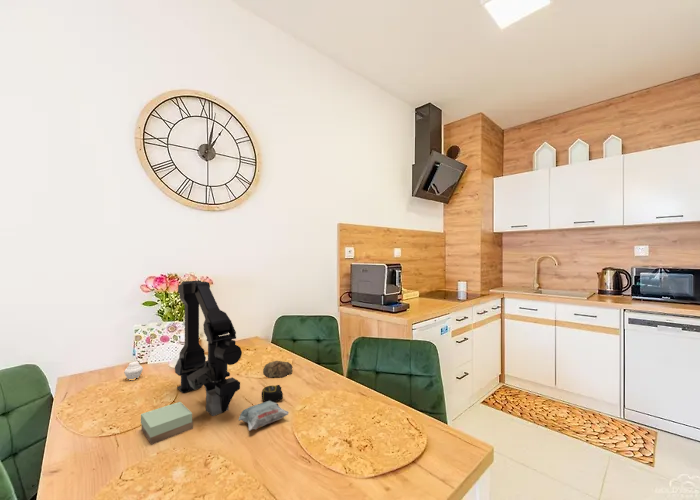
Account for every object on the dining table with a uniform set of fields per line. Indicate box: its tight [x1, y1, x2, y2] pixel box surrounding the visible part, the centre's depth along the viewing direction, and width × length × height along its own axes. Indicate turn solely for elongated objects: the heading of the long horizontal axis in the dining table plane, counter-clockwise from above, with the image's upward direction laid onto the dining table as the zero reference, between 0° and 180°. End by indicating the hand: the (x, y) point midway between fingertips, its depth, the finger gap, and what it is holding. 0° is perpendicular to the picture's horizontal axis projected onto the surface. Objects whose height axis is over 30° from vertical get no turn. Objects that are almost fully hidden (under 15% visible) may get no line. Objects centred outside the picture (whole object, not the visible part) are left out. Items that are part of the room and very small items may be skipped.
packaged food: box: [238, 401, 290, 432], centre depth 87 cm, size 9×12×5 cm
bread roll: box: [262, 360, 293, 379], centre depth 126 cm, size 13×12×5 cm
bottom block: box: [140, 420, 194, 445], centre depth 84 cm, size 10×10×2 cm
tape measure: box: [261, 384, 284, 403], centre depth 101 cm, size 7×7×4 cm
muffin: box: [123, 360, 144, 380], centre depth 119 cm, size 6×6×7 cm
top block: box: [140, 401, 193, 438], centre depth 84 cm, size 10×10×2 cm
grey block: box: [205, 389, 230, 417], centre depth 94 cm, size 5×5×6 cm
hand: (217, 407), depth 94 cm, fingers open, 9 cm apart
